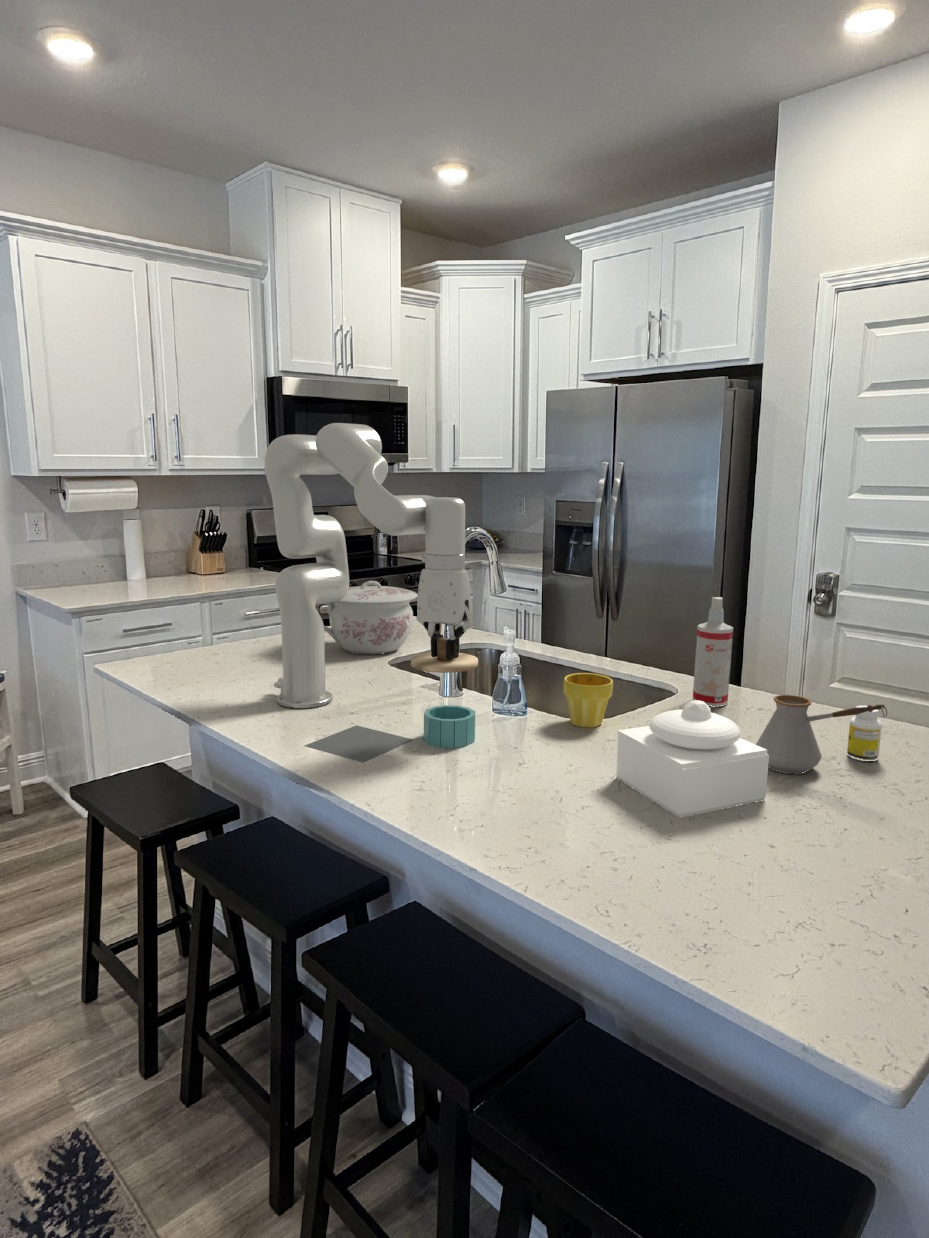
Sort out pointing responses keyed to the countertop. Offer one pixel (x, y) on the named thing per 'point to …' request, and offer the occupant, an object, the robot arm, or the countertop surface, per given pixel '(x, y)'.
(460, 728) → the bowl
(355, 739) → the mat
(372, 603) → the chamber pot
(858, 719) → the supplement bottle
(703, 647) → the spray bottle
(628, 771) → the white square canister
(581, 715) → the plant pot
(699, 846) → the countertop surface
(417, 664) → the lid
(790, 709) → the coffee pot
